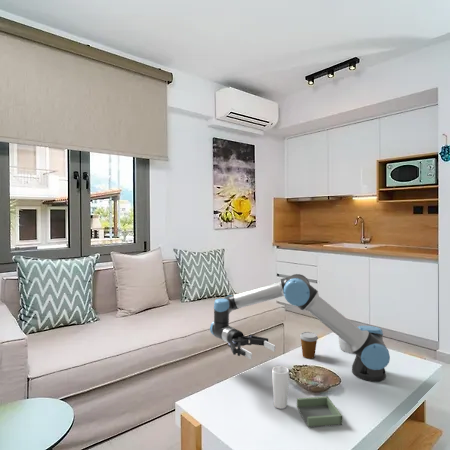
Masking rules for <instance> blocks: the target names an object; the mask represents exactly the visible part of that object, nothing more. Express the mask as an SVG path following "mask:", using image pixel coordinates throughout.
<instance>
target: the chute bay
mask: <svg viewBox="0 0 450 450" xmlns="http://www.w3.org/2000/svg"><path fill="white" fill-rule="evenodd" d="M296 407H297V409H298V411H299V413H300V415H301V417H302V418H303V420H304V422H305V424H306V426H307V428H308V429H309V428H310V429H311V428H323V427H324V428H325V427H334V426H335V427H336V426H343V415H342V413H341V412H340V410H339V409H338V408H337V407H336V405H335V404H334V403H333V402H332V400H331V399H330V397H329V396H314V397H298V398H296Z"/></svg>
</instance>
